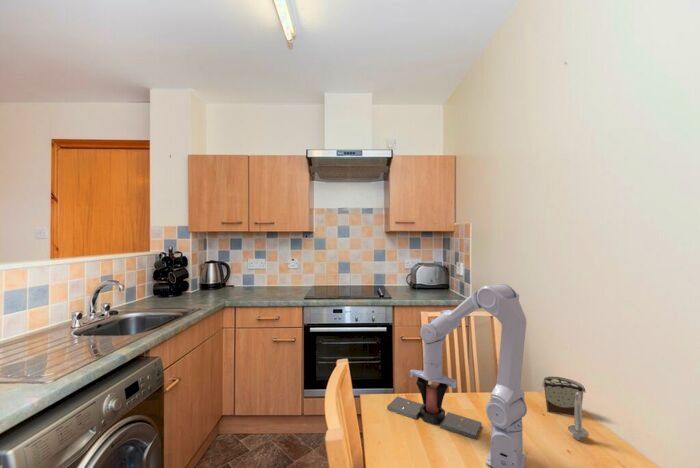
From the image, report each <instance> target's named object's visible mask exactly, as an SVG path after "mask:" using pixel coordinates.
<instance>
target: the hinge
mask: <svg viewBox="0 0 700 468" xmlns="http://www.w3.org/2000/svg"><path fill="white" fill-rule="evenodd" d="M386 410H387V411H390V412H394V413H396V414H399V415H402V416H406V417H408V418H410V419H414V420H417V419H418V418H419V417H420V418H421V420H422V421H423V422H425V423H428V424H431V425H440V429H443V430H446V431H449V432H452V433H455V434H458V435H461V436H464V437H467V438H470V439H472V440H476V439H477V438H478V436H479V433H480V430H481V429H482V422H481V421H478V420H475V419H472V418H469V417H465V416H462V415H461V414H460V415H459V414H455V413H453V412H449V411H448V412H446V410H445V409H444V408H443V407H442V406H441V408H440V409H439V414H434V415H433V414H430V413H427V412H426V404H423V403H420V402H417V401H413V400H410V399H407V398H404V397H401V396H396V397H395V398H394V399H393V400H392V401H391V402H390V403H389V404H387V407H386Z"/></svg>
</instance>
